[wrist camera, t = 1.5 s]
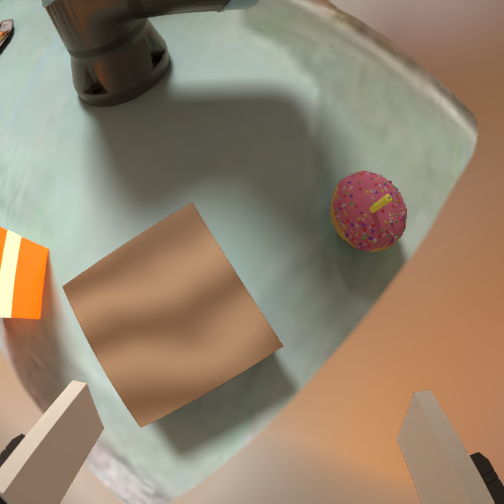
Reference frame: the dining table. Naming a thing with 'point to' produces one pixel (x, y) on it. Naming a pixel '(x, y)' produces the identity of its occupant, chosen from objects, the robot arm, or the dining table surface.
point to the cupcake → (368, 211)
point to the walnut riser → (169, 317)
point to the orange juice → (21, 276)
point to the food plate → (5, 30)
